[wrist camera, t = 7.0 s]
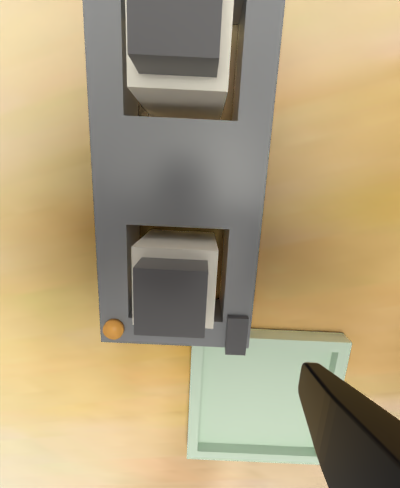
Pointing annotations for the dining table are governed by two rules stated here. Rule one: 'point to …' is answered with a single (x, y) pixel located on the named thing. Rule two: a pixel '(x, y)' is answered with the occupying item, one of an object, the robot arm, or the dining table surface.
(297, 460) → the parts tray
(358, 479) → the robot arm
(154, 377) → the dining table surface
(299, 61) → the dining table surface
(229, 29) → the twin plug
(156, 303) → the plug
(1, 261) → the dining table surface
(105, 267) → the grey socket board
